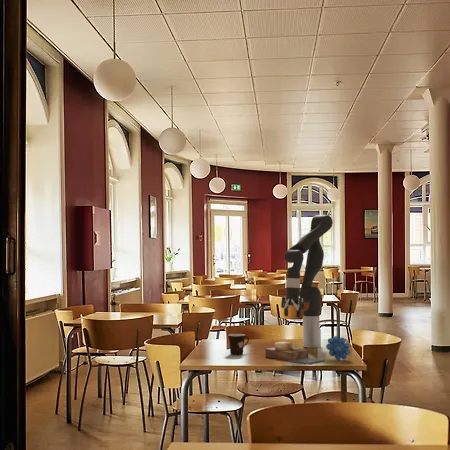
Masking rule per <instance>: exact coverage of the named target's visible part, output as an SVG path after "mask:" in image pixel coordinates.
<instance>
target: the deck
mask: <svg viewBox="0 0 450 450" xmlns="http://www.w3.org/2000/svg"><path fill="white" fill-rule="evenodd" d="M265 357H266V358H271V359H276V360H283V361H289V362H290V360H295V359H300V358H306V357H309V350H308V349H301V348H296V347H293V350H286V351H283V350H276V349H275V346H274V347H270V348H269V347H268V348H265Z"/></svg>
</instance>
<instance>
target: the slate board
mask: <svg viewBox="0 0 450 450" xmlns="http://www.w3.org/2000/svg"><path fill="white" fill-rule="evenodd" d="M325 361H326V360H325V359H324V358H316V357H310V356H308V357H306V358H300V359H295V360H290V361H289V362H290V363H294V364H300V365H306V364H309V365H313V363H314V364H318V363H324V362H325Z"/></svg>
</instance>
